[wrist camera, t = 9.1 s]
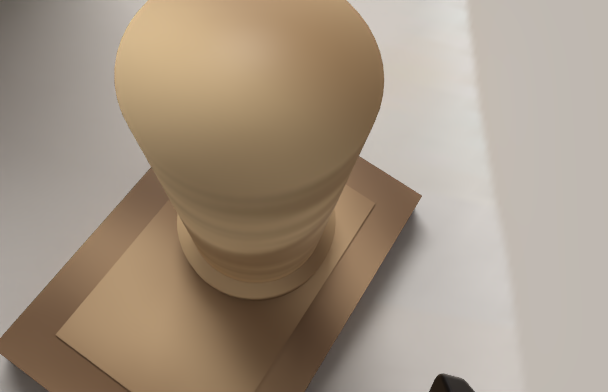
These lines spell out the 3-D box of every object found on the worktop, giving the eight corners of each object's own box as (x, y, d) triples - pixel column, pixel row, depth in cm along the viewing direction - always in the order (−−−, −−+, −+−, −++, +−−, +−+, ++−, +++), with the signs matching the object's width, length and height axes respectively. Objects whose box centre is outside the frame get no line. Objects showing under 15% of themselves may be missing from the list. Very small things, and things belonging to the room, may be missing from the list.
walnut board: (226, 514, 16) (223, 526, 15) (9, 348, 17) (-9, 347, 16) (413, 205, 21) (422, 195, 20) (233, 90, 22) (231, 74, 21)
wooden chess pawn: (277, 332, 17) (297, 291, 7) (149, 243, 18) (10, 96, 8) (358, 207, 19) (462, 41, 9) (241, 131, 20) (220, -98, 10)
